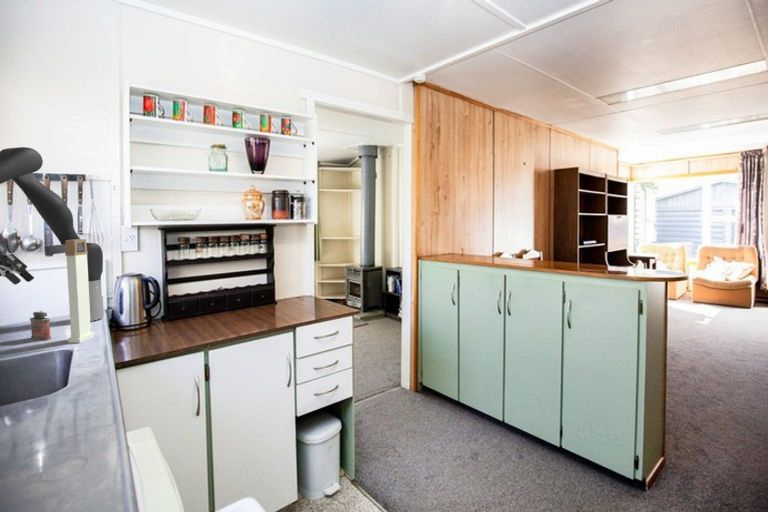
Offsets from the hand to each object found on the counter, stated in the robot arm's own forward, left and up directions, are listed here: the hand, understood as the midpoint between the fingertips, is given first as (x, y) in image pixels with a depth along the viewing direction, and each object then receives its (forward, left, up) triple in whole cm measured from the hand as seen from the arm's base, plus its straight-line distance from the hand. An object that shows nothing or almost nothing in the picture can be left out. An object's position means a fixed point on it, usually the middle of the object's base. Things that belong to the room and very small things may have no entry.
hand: (24, 281), depth 139 cm
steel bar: (-6, +10, +10) cm, 15 cm away
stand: (-6, +14, -22) cm, 27 cm away
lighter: (-7, -1, -22) cm, 23 cm away
